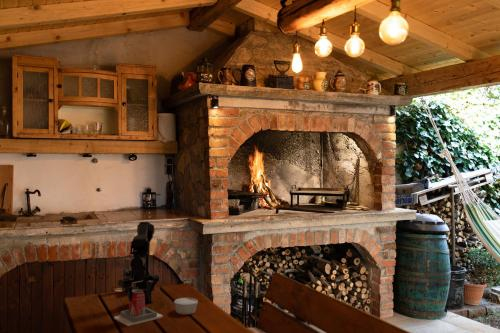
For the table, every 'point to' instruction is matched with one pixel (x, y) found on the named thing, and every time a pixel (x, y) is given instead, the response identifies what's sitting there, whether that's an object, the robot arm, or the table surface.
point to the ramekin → (185, 305)
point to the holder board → (131, 320)
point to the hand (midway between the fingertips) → (138, 299)
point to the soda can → (137, 303)
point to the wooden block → (127, 266)
